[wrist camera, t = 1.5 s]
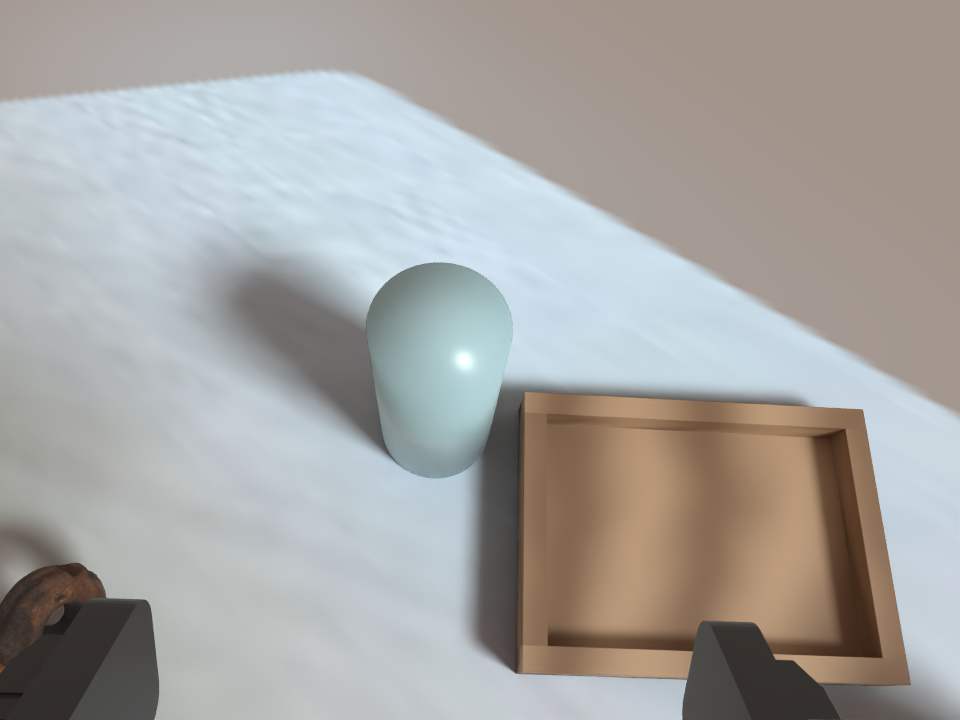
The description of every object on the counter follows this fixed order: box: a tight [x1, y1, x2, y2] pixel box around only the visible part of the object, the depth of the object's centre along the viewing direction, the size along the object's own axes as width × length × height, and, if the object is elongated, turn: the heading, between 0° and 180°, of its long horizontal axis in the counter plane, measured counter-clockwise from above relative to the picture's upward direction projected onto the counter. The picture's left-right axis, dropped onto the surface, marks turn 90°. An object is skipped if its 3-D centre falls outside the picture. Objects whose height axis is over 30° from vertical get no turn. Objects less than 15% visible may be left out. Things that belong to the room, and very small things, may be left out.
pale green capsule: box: [366, 263, 513, 478], centre depth 33 cm, size 5×5×11 cm
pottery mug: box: [0, 563, 106, 673], centre depth 30 cm, size 12×10×8 cm
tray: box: [516, 392, 911, 686], centre depth 35 cm, size 16×12×2 cm
